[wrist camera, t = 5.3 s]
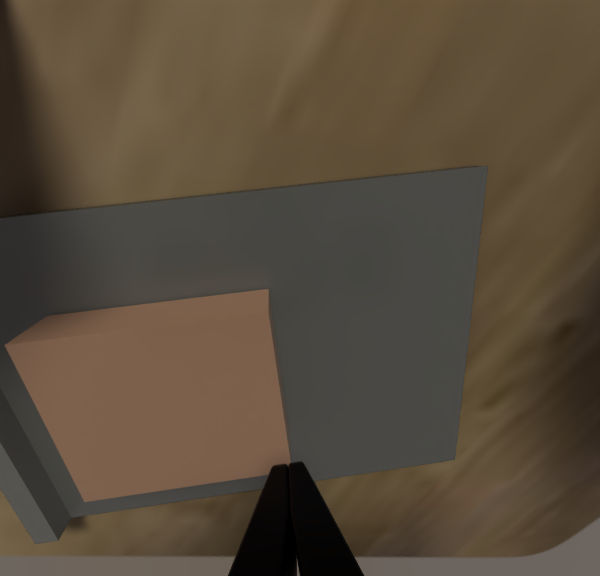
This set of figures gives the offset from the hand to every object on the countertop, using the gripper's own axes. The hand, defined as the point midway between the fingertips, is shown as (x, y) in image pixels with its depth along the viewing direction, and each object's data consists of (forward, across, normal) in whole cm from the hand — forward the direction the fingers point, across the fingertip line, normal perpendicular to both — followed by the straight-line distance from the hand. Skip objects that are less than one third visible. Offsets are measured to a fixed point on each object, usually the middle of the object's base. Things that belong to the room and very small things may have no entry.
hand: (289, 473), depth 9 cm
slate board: (+6, +2, 0) cm, 6 cm away
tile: (+4, 0, 0) cm, 4 cm away
